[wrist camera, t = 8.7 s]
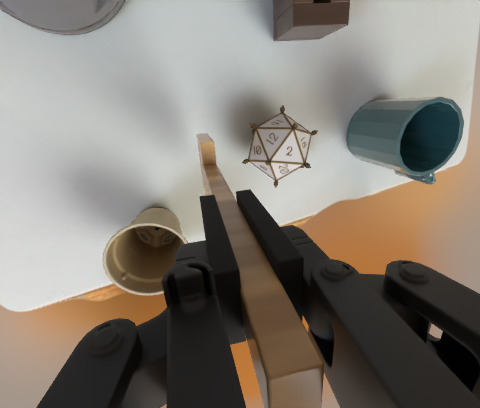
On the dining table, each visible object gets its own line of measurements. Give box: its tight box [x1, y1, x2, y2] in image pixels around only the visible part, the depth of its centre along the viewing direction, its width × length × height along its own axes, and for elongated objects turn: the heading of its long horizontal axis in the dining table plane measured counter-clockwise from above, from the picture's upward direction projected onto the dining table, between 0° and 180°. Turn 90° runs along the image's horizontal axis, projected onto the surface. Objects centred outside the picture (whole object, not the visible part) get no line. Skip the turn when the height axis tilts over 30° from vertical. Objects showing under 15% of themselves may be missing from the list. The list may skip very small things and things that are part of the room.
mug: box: [347, 97, 464, 184], centre depth 33 cm, size 12×9×10 cm
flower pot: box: [103, 208, 188, 295], centre depth 32 cm, size 9×9×9 cm
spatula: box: [197, 133, 324, 408], centre depth 17 cm, size 6×1×26 cm, turn 5°
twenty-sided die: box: [242, 106, 318, 188], centre depth 31 cm, size 9×8×10 cm
